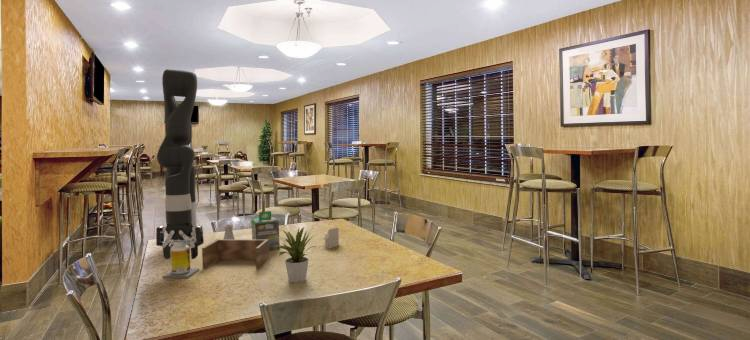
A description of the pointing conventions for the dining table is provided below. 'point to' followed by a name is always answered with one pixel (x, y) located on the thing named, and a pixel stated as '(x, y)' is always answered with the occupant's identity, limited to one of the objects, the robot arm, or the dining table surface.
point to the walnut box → (236, 251)
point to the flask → (228, 233)
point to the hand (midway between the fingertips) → (180, 258)
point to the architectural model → (332, 238)
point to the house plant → (296, 256)
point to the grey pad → (185, 275)
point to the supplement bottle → (180, 257)
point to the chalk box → (266, 229)
